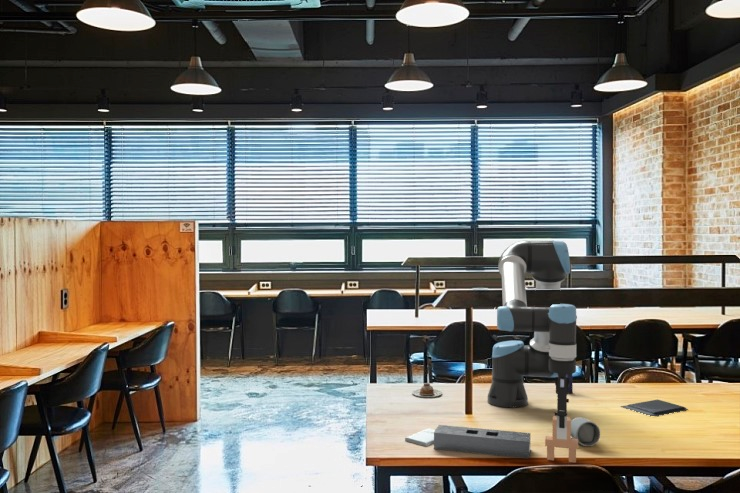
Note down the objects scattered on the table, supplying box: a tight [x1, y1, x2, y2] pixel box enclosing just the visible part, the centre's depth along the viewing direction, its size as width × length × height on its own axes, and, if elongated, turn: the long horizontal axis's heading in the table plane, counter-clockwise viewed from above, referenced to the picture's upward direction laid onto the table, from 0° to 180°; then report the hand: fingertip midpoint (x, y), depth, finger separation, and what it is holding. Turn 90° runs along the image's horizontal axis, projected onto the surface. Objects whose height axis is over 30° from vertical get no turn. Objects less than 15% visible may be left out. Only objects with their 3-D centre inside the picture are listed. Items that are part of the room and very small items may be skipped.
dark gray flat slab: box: [620, 399, 689, 417], centre depth 235 cm, size 20×2×15 cm
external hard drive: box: [404, 427, 436, 447], centre depth 201 cm, size 2×8×12 cm
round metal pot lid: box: [411, 382, 443, 399], centre depth 255 cm, size 12×12×5 cm
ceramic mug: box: [571, 416, 601, 447], centre depth 197 cm, size 11×8×8 cm
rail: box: [433, 424, 531, 460], centre depth 191 cm, size 8×28×5 cm, turn 73°
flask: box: [566, 374, 574, 395], centre depth 260 cm, size 9×3×11 cm, turn 21°
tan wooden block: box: [544, 415, 579, 464], centre depth 182 cm, size 3×9×12 cm, turn 73°
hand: (561, 431), depth 182 cm, fingers open, 13 cm apart
